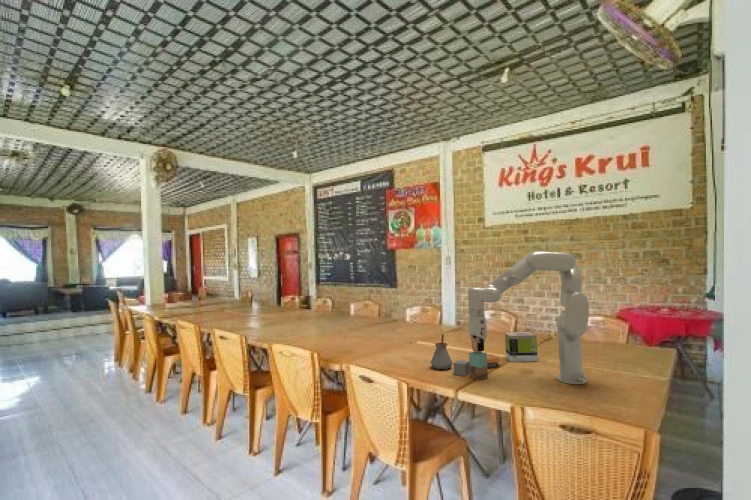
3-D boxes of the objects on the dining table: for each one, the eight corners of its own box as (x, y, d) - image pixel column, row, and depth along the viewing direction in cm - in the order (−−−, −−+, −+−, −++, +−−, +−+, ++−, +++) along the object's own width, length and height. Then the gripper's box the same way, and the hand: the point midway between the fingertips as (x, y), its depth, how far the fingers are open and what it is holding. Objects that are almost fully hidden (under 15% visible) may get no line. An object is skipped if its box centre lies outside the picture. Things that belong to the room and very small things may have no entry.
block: (469, 373, 192) (469, 361, 192) (465, 376, 187) (464, 364, 187) (458, 371, 196) (458, 359, 196) (453, 374, 191) (453, 362, 191)
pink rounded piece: (485, 351, 183) (484, 338, 183) (475, 352, 182) (475, 339, 182) (479, 348, 188) (479, 336, 188) (470, 349, 187) (470, 337, 187)
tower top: (487, 365, 185) (486, 353, 185) (479, 367, 181) (479, 355, 181) (476, 362, 189) (476, 350, 189) (469, 365, 185) (469, 353, 185)
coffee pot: (451, 371, 195) (450, 342, 196) (429, 370, 198) (428, 342, 199) (454, 360, 216) (453, 334, 216) (434, 359, 219) (433, 333, 219)
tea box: (532, 357, 218) (531, 331, 218) (538, 362, 208) (536, 335, 208) (505, 357, 219) (504, 331, 220) (509, 362, 209) (508, 335, 210)
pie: (464, 365, 207) (464, 356, 207) (481, 359, 217) (481, 350, 217) (489, 371, 195) (489, 361, 195) (505, 364, 205) (505, 355, 205)
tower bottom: (487, 378, 183) (487, 365, 184) (477, 380, 181) (477, 367, 181) (479, 374, 189) (479, 362, 189) (470, 376, 186) (469, 364, 187)
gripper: (492, 314, 178) (494, 352, 178) (474, 309, 195) (476, 345, 194) (478, 315, 176) (479, 354, 176) (461, 310, 193) (462, 346, 192)
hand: (477, 349), depth 185 cm, fingers closed on pink rounded piece, 5 cm apart
